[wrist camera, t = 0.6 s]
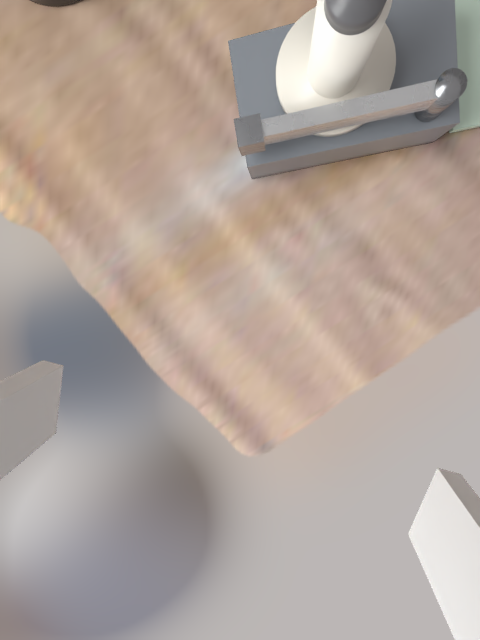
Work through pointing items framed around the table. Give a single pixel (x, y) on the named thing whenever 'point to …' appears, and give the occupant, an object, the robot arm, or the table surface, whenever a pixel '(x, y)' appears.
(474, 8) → the mat
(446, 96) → the record player tonearm
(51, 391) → the robot arm
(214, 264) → the table surface
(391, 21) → the socket block
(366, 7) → the plug
